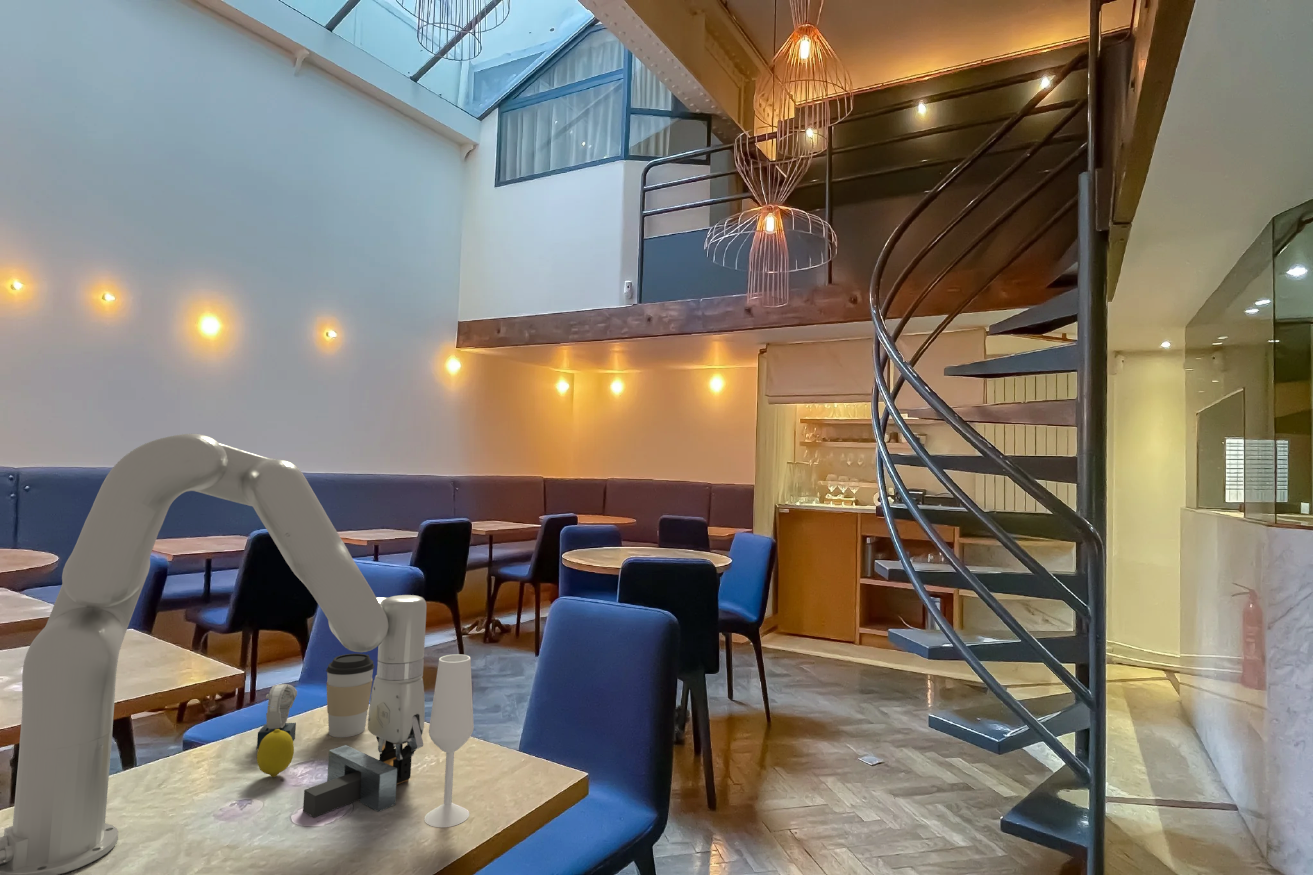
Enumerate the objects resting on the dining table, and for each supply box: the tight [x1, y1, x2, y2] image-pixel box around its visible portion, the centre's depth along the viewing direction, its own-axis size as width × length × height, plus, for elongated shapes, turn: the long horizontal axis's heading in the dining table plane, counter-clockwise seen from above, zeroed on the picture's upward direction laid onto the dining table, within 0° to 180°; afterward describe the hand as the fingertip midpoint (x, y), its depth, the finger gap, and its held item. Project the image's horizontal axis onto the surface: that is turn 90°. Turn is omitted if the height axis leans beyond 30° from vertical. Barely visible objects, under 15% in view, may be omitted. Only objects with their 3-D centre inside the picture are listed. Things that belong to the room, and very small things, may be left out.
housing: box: [326, 744, 397, 813], centre depth 110 cm, size 3×15×6 cm, turn 55°
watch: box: [256, 683, 298, 750], centre depth 129 cm, size 6×8×11 cm
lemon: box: [256, 729, 295, 778], centre depth 115 cm, size 6×6×8 cm
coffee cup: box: [325, 653, 375, 738], centre depth 137 cm, size 9×9×15 cm
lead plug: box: [302, 757, 410, 818], centre depth 110 cm, size 16×3×3 cm, turn 145°
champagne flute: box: [424, 653, 475, 828], centre depth 104 cm, size 7×7×24 cm
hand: (394, 776), depth 115 cm, fingers closed on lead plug, 3 cm apart
